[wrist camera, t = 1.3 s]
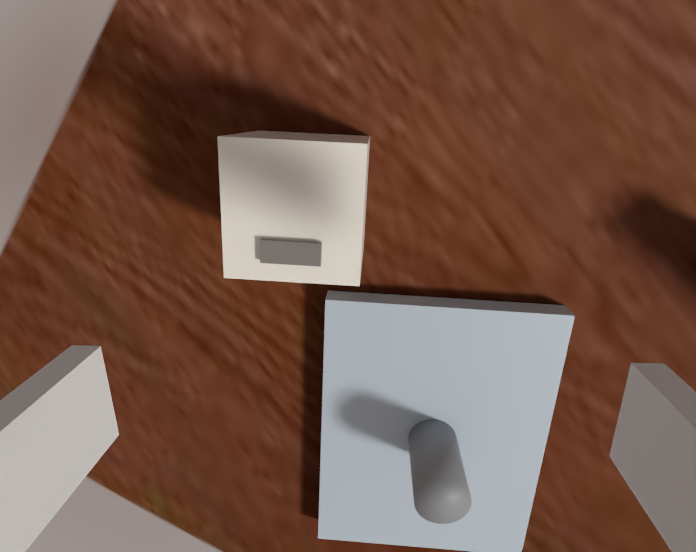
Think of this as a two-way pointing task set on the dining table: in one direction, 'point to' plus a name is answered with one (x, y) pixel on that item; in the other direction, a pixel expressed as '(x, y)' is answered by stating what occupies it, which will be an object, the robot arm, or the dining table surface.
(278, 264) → the cream box with handle
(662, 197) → the dining table surface
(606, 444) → the dining table surface
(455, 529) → the panel
